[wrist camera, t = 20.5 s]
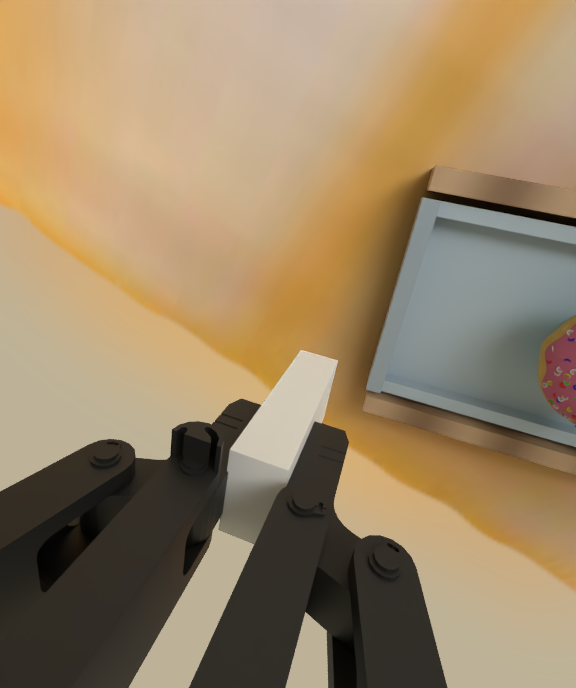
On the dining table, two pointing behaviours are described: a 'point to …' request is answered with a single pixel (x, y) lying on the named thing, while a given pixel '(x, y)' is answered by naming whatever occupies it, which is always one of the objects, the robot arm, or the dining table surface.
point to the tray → (478, 315)
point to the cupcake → (559, 370)
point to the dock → (459, 424)
